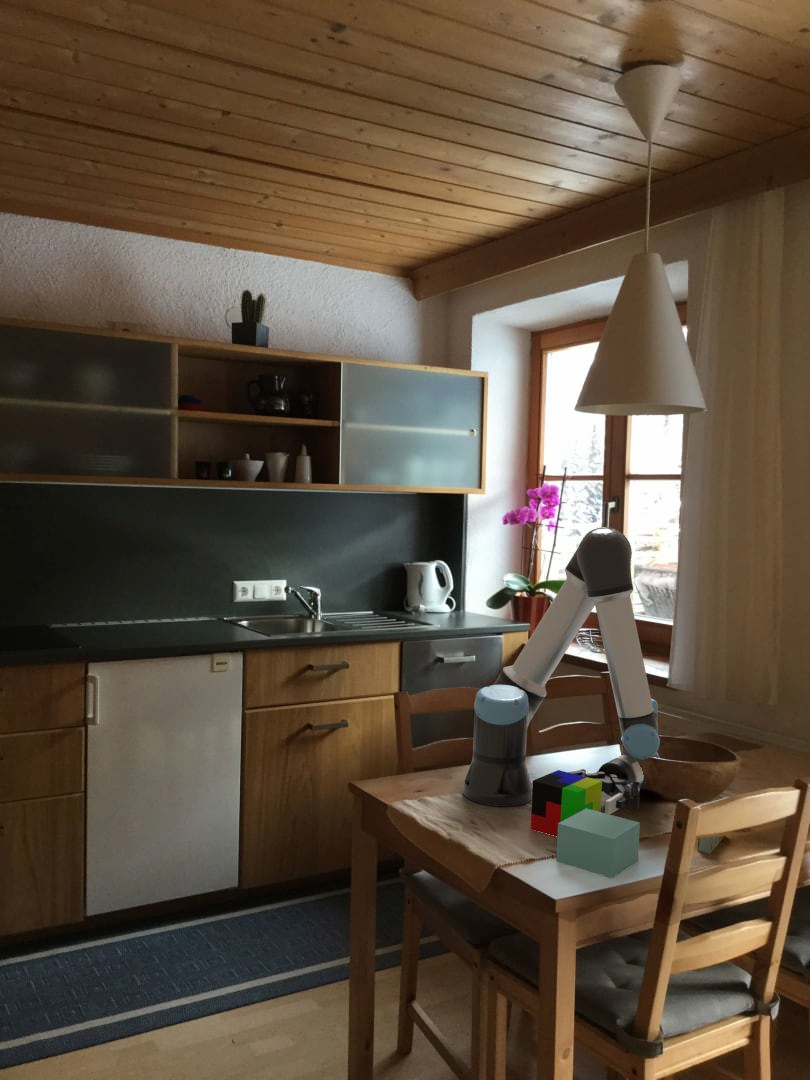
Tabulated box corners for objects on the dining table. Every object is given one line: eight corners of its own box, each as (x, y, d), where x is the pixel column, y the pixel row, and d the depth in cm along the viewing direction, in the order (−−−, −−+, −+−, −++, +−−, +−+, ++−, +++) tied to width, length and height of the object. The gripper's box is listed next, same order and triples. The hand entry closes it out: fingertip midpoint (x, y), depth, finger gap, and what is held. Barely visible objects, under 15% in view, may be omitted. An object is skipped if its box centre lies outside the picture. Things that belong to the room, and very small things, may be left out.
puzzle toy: (556, 817, 194) (558, 770, 194) (599, 829, 188) (602, 781, 187) (530, 829, 187) (532, 780, 186) (574, 843, 180) (577, 792, 180)
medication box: (711, 855, 177) (712, 834, 177) (696, 851, 179) (698, 831, 178) (725, 836, 187) (727, 816, 187) (711, 833, 189) (713, 813, 189)
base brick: (556, 860, 171) (558, 823, 171) (584, 844, 180) (585, 808, 179) (611, 878, 164) (613, 839, 164) (638, 859, 173) (640, 822, 173)
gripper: (674, 806, 197) (633, 834, 180) (567, 780, 212) (520, 803, 195) (676, 771, 197) (635, 795, 180) (569, 748, 212) (522, 768, 195)
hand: (575, 800), depth 188 cm, fingers open, 13 cm apart
